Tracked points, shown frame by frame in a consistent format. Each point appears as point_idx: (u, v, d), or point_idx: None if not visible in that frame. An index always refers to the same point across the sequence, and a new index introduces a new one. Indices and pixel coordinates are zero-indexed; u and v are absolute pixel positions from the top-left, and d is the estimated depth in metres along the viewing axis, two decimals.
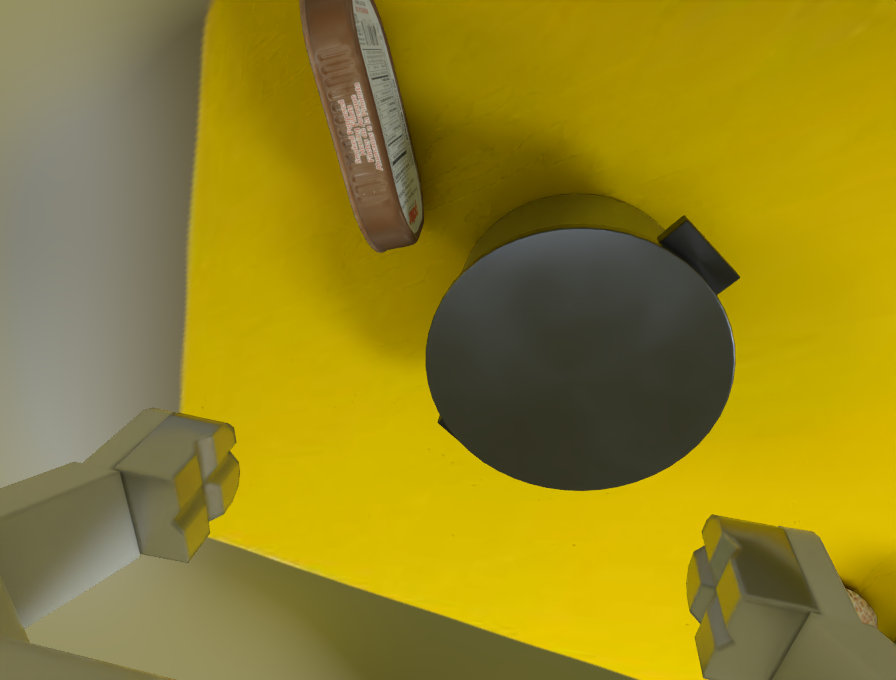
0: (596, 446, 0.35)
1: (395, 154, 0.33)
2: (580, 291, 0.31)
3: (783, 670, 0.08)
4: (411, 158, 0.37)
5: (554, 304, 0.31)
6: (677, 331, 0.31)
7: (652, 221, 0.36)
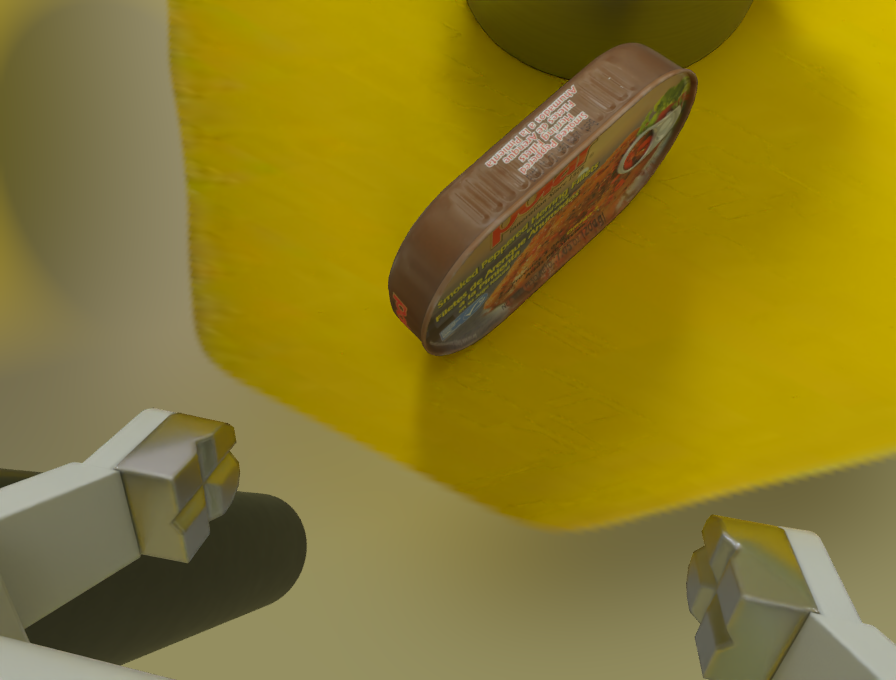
0: None
1: None
2: None
3: (783, 670, 0.08)
4: None
5: None
6: None
7: None
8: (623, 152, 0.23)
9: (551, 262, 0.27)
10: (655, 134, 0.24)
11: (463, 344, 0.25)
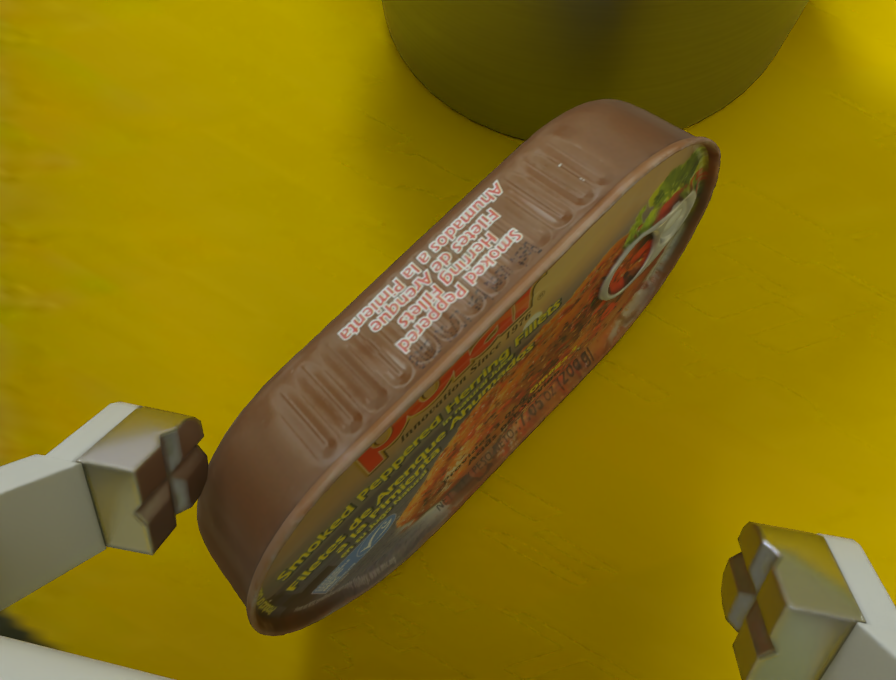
0: None
1: None
2: None
3: (827, 679, 0.08)
4: None
5: None
6: None
7: None
8: (605, 273, 0.14)
9: (512, 431, 0.17)
10: (657, 238, 0.15)
11: (371, 581, 0.16)
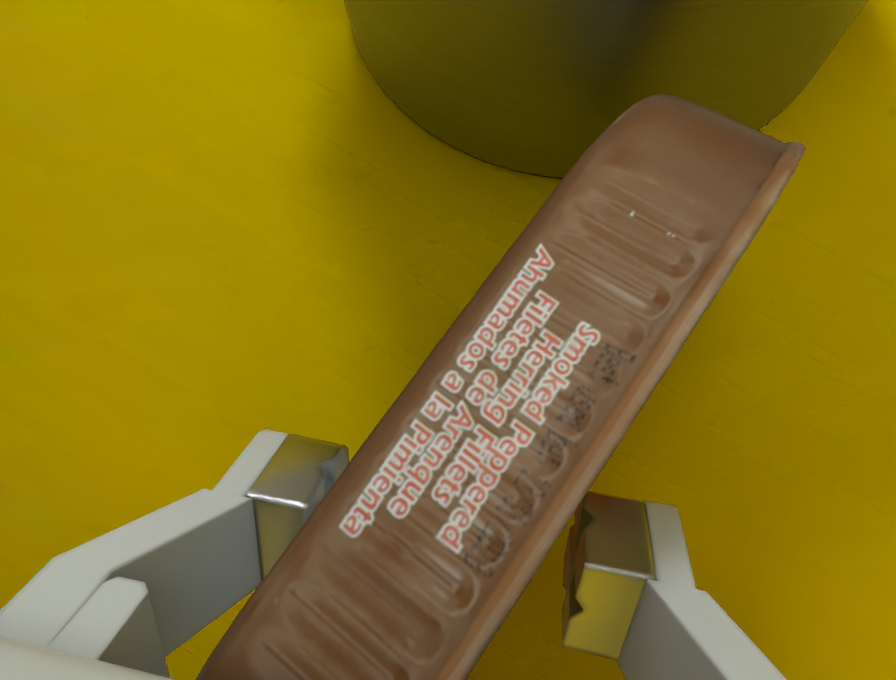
0: None
1: None
2: None
3: (630, 636, 0.08)
4: None
5: None
6: None
7: None
8: None
9: None
10: None
11: None
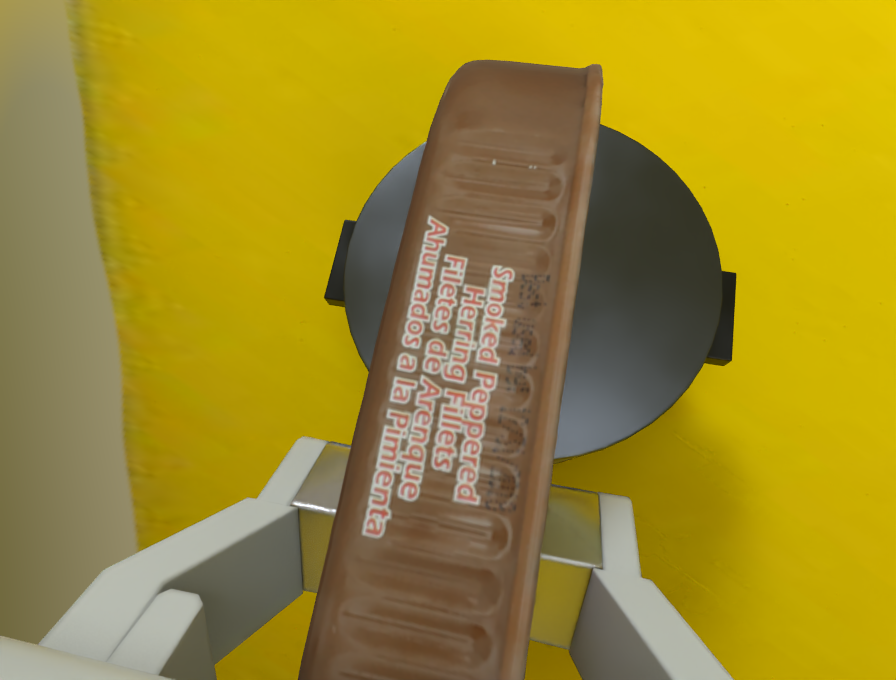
0: None
1: None
2: None
3: (579, 625, 0.08)
4: None
5: None
6: None
7: None
8: None
9: None
10: None
11: None
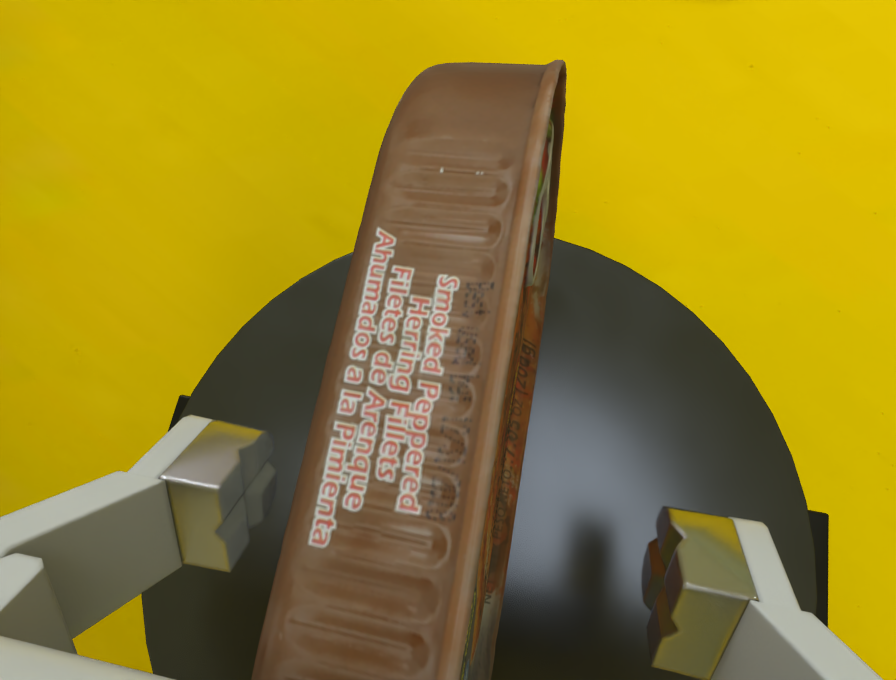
0: (577, 367, 0.16)
1: None
2: None
3: (726, 658, 0.08)
4: None
5: None
6: (267, 425, 0.16)
7: None
8: (526, 259, 0.11)
9: (507, 470, 0.15)
10: (545, 192, 0.12)
11: None
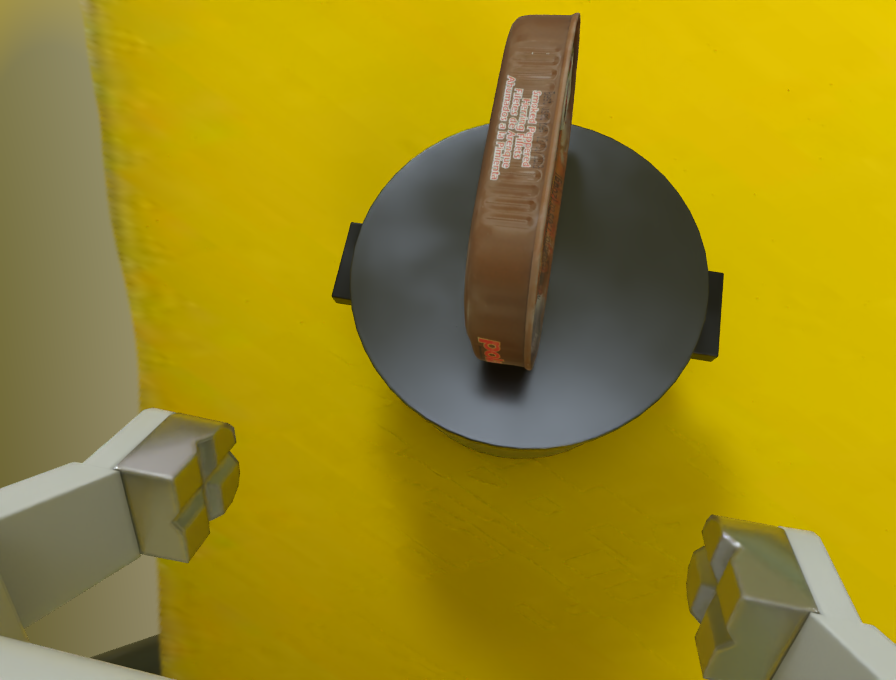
0: (584, 190, 0.29)
1: None
2: (435, 326, 0.27)
3: (783, 670, 0.08)
4: None
5: (465, 339, 0.27)
6: (413, 223, 0.29)
7: None
8: None
9: (547, 237, 0.28)
10: (569, 81, 0.25)
11: (535, 347, 0.25)
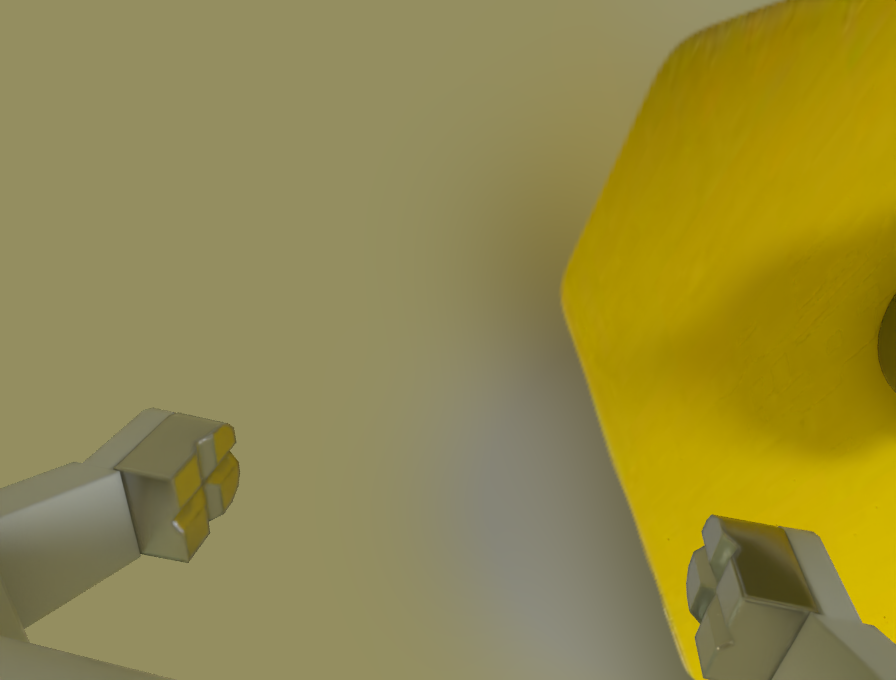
0: None
1: None
2: None
3: (783, 670, 0.08)
4: None
5: None
6: None
7: None
8: None
9: None
10: None
11: None
